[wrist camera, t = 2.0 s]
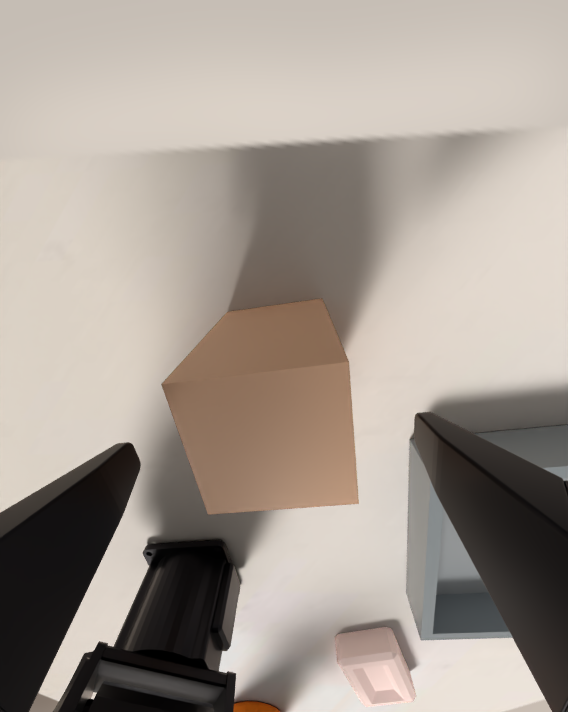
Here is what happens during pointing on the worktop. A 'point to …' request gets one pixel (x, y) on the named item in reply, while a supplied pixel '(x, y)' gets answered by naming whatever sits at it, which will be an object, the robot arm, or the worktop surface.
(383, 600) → the worktop surface
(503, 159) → the worktop surface
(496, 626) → the tray
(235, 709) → the spray bottle
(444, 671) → the worktop surface
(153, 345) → the worktop surface
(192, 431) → the carton
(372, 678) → the soap bar
